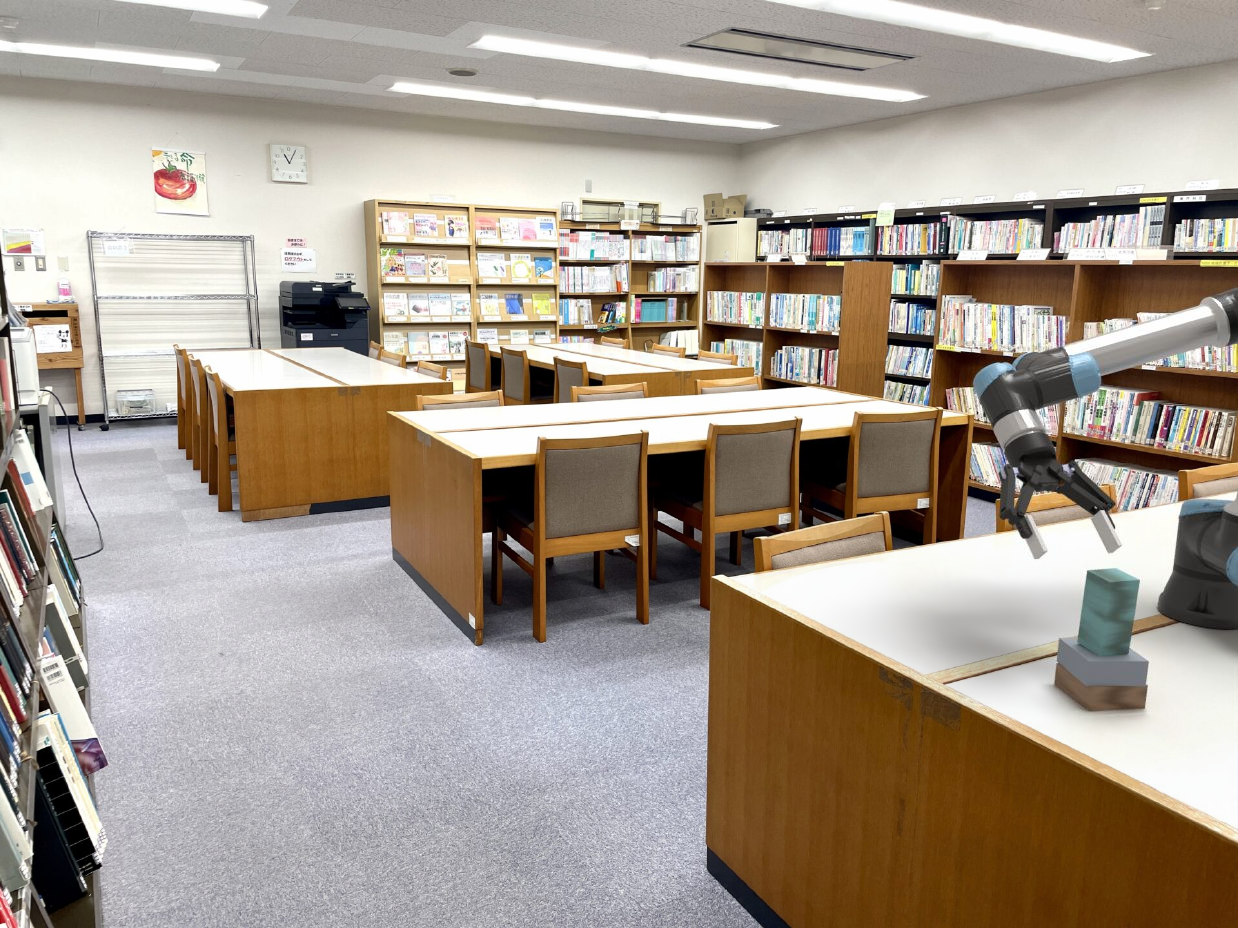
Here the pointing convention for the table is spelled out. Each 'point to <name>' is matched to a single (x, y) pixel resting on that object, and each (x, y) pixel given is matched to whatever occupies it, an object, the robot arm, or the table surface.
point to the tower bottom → (1100, 693)
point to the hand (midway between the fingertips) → (1078, 552)
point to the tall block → (1108, 611)
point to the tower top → (1102, 665)
